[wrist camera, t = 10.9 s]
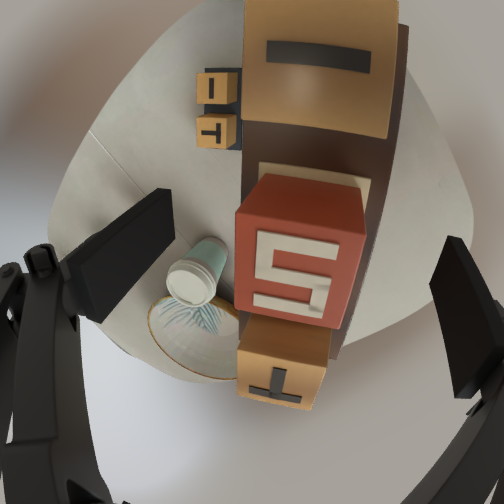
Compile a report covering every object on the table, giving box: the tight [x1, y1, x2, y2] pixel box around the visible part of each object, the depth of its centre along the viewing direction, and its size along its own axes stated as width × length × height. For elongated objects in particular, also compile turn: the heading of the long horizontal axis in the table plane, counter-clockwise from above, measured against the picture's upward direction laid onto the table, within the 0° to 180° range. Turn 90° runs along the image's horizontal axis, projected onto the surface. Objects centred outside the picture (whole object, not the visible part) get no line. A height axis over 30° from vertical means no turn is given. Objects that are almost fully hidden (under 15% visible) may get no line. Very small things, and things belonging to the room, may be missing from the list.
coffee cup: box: [166, 237, 228, 307], centre depth 54 cm, size 8×8×12 cm
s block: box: [234, 173, 367, 329], centre depth 13 cm, size 4×4×5 cm
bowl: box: [147, 295, 240, 380], centre depth 65 cm, size 25×25×8 cm
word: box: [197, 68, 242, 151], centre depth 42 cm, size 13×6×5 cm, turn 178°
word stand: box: [237, 0, 409, 410], centre depth 26 cm, size 20×7×37 cm, turn 178°
